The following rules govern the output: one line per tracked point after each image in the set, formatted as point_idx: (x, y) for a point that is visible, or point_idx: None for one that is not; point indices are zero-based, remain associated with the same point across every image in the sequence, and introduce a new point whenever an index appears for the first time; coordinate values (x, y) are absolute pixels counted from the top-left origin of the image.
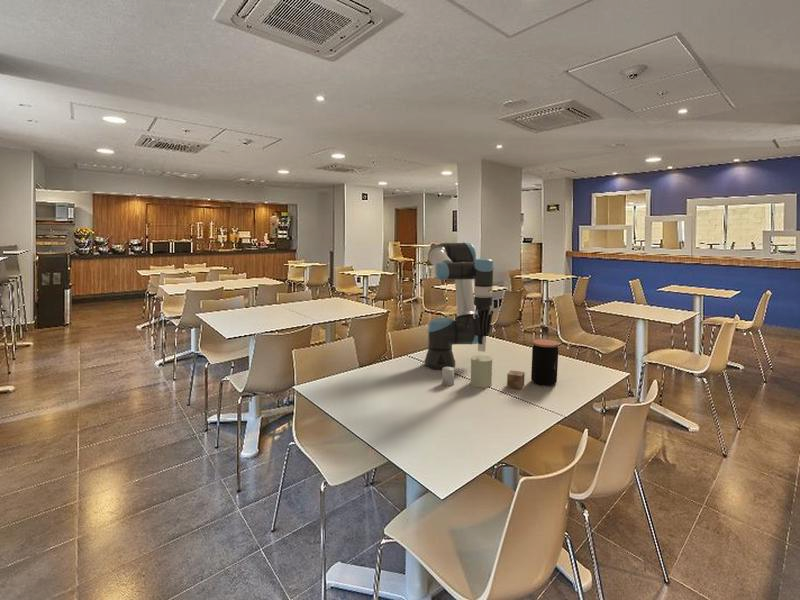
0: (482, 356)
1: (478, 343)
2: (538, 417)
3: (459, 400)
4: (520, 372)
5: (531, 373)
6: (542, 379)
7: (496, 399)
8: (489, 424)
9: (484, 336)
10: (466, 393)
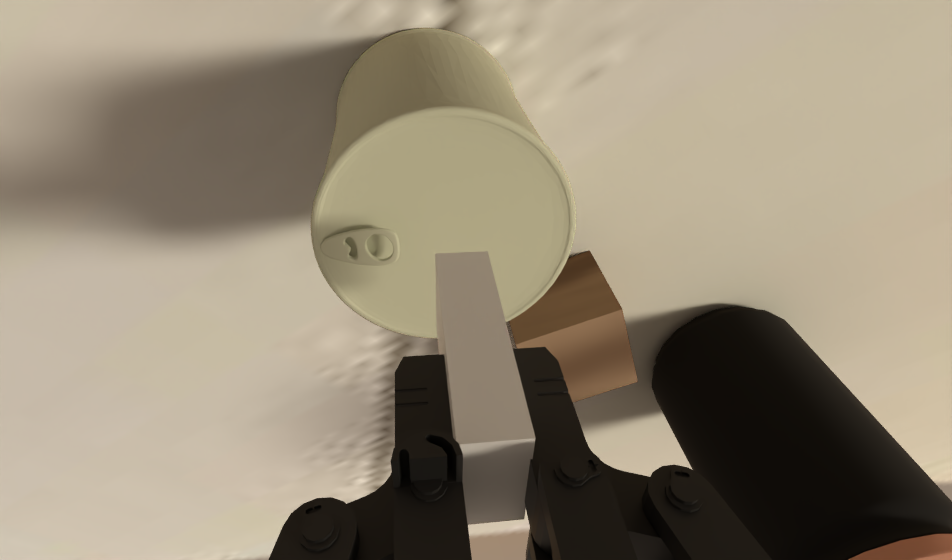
0: (530, 196)
1: (402, 365)
2: (272, 524)
3: (23, 223)
4: (610, 372)
5: (715, 350)
6: (662, 409)
7: (276, 346)
8: (2, 479)
9: (490, 519)
10: (170, 172)
